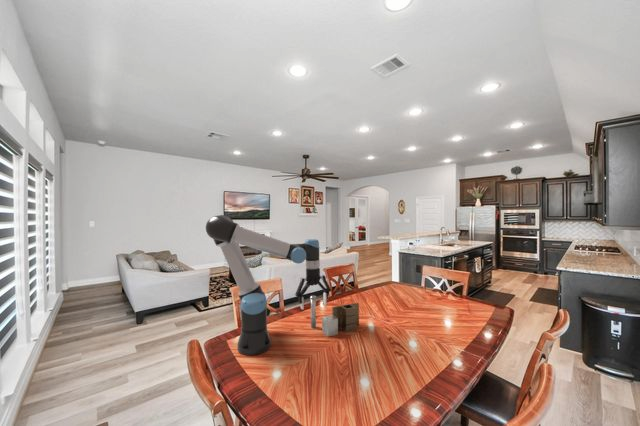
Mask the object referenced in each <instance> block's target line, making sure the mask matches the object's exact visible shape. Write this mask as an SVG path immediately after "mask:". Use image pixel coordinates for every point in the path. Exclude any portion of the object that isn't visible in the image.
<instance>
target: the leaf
mask: <svg viewBox="0 0 640 426" xmlns="http://www.w3.org/2000/svg"><path fill="white" fill-rule="evenodd" d="M331 311H332V312H331V314H329V315H328V314H327V315H324V316H321V324H322V326H321V329H322V330H321V331H322V333H323V334H324V335H325V336H326V337H328V338H329V337H331V336H336V335H337V336H338V335H339V330H342V329H341V321H342V322H343V323H345V324H346V325H348V324H352V323H356V315H351V316H345V315H343V314H342V313H341V305H335V306H332V307H331Z"/></svg>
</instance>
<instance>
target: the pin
mask: <svg viewBox="0 0 640 426" xmlns="http://www.w3.org/2000/svg"><path fill="white" fill-rule="evenodd" d="M309 299H310V321H311V322H310V328H311V329H316V328H317V319H316V317H317V315H316V313H317V309H316V305H317V303H316V302H317V301H316V299H317V296H316V295H310V296H309Z"/></svg>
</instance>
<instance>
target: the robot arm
mask: <svg viewBox="0 0 640 426" xmlns="http://www.w3.org/2000/svg"><path fill="white" fill-rule="evenodd" d="M205 231H206V234H207V236H208V237H210V238H211V239H212V240H213V242H214V244H215V246H217V247H219V248H220V249H221V251H222V254H223V256H224V258H225V260H226V263H227V265H228V268H229V270H230V272H231V274H232V276H233V278H234V280H235V283H236V286H237V287H238V289H239V290H238V293H237V296H238V297H239V300H240V309H241V310H240V319H241V321H240V322H241V325H240V328H241V331H240V332H241V333H240V336H239V339H238V341H237V351H238V353H240V354H242V355H245V356H254V355H260V354H263V353H265V352H266V351H268V350H270V348H271V346H272V340H271V339H272V338H271V337H270V334H269V330H268V310H267V309H268V308H267V306H268V300H267V296H266V294H265V293H266V292H264V291H263V288H262V287H261V285H260V283H259V282H256V281H255V278H254V275H253V274H252V271H251V270H250V267H249V264H248V262H247V260H246V258H245V255H244V254H243V251H242V249H241V246H245V247H247V248H250V249H254V250H257V251H259V252H260V251H261V252H263V253H267V254H269V255H273V256H275V257H276V256H277V257H279V258H283V259H285V260H287V261H291V262H293V263H295V264H297V265H299V264H303V263H304V262H305V268H306V269H305V274H306V275H305V277H301V278H300V280H299V281H300V282H299V285H298V287H297V288H296V291H295V294H294V296H295V297H297V298H298V304H300V309H301V310H303V311H304V310H305V308H304V307H305V306H304V305H305V304H304V303H305V302H304V295H305V293H306V291H307V290H308V289H309V288H310V286H311V287H312V286H319V288H320V289H322V290H323V291H324V292H323V300H322V301H323V305H324V306H328V302H327V301H328V299H329V293H330V292H332V289H331V287H330V285H329V283H328V281H327V279H326V278H327V277H326V275H325V274H322V275H321V268H320V266H321V265H320V263H321V262H320V241H319V239H316V238H314V239H313V238H310V239H305V240H304V241H305V242H304V243H288V242H285V241H282V240H280V239H277V238H273V237H272V236H271V237H270V236H268V235H265V234H263V233H260V232H256V231H253V230H251V229H250V230H249V229H247V228H245V227H241V226H240V224H239V223H236V222H234V221H233V219H232V218H231V217H230V216H227V215H225V214H220V215H214V216H212V217H210V218H209V219H208V220H207V221H206V224H205ZM240 245H241V246H240ZM321 280H322V282H323V284H322V283H321Z"/></svg>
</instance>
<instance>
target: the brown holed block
mask: <svg viewBox="0 0 640 426" xmlns="http://www.w3.org/2000/svg"><path fill="white" fill-rule="evenodd" d="M359 304H360V303H359V302H353V303H348V304H343V305H342V304H341V305H340V306H341V313H342V314H343V315H345V316H351V315H356V323H352V324H348V325H346V324H345V323H343V322H342V321H341V329H340V330H343V332H345V333H349V332H354V331H357V326H360V305H359Z"/></svg>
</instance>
